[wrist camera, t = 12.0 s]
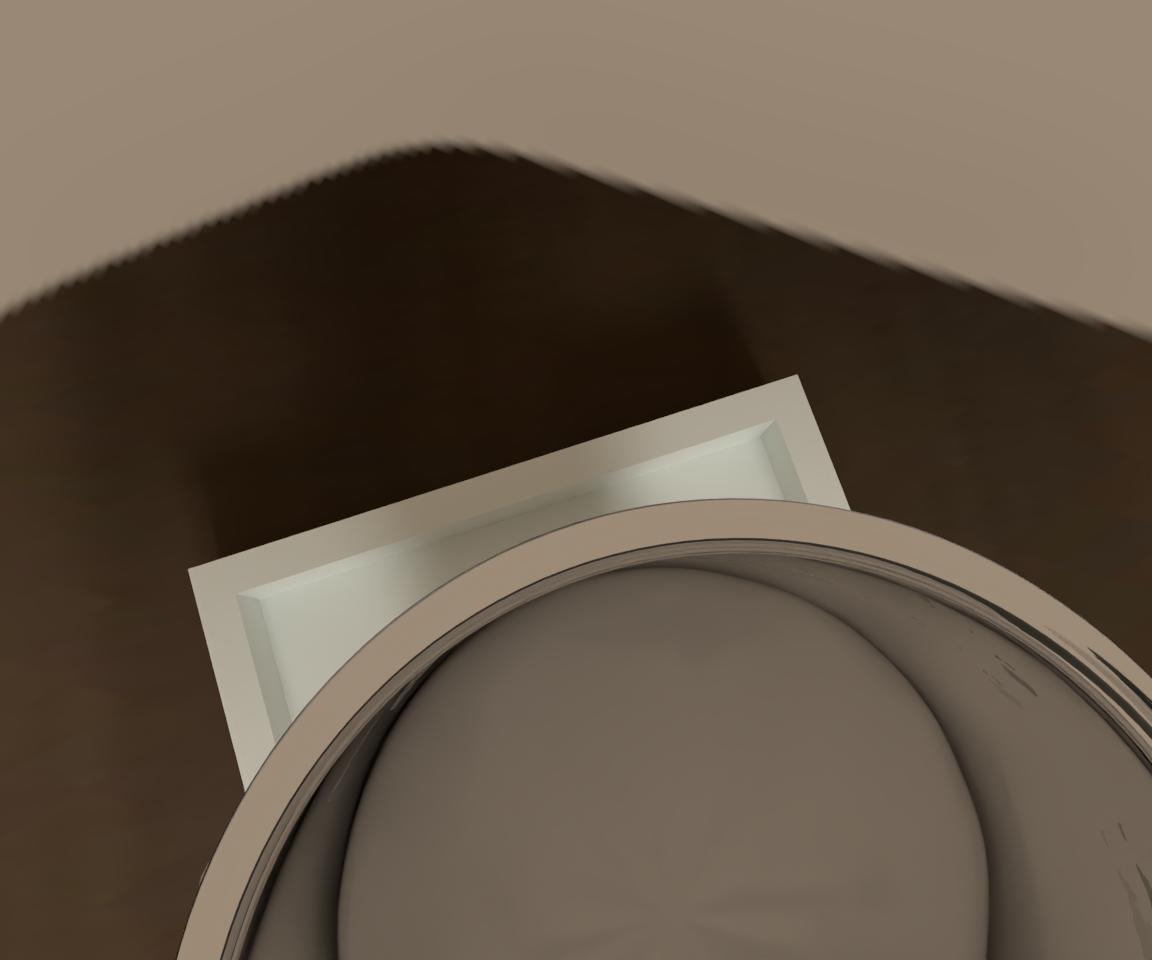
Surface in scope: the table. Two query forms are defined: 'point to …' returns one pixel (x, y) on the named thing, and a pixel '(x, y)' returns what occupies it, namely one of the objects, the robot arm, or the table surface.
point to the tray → (475, 543)
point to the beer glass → (706, 761)
